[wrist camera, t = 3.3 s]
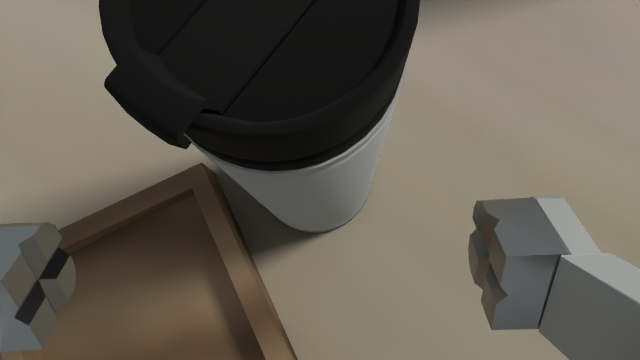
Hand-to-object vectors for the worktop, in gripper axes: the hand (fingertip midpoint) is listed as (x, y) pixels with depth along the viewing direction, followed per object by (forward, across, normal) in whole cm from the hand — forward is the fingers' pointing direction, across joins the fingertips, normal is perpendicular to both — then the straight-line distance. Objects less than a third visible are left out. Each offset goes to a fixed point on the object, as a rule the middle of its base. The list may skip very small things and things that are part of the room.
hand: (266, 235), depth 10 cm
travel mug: (+16, 0, -10) cm, 19 cm away
